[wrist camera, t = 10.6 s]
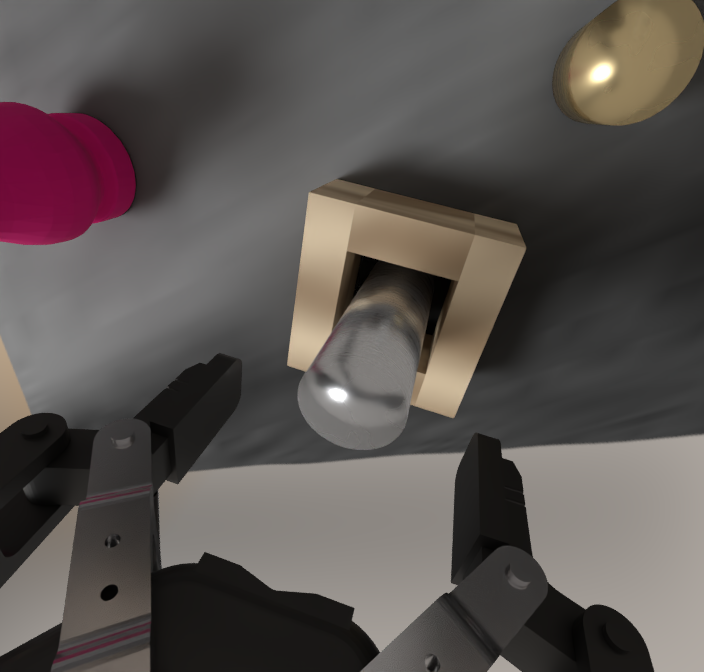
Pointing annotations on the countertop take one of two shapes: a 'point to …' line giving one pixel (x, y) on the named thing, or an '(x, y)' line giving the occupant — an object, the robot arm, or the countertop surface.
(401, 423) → the long pin
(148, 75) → the countertop surface
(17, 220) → the pepper mill
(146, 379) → the countertop surface
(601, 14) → the short pin
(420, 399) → the socket block
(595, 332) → the countertop surface
